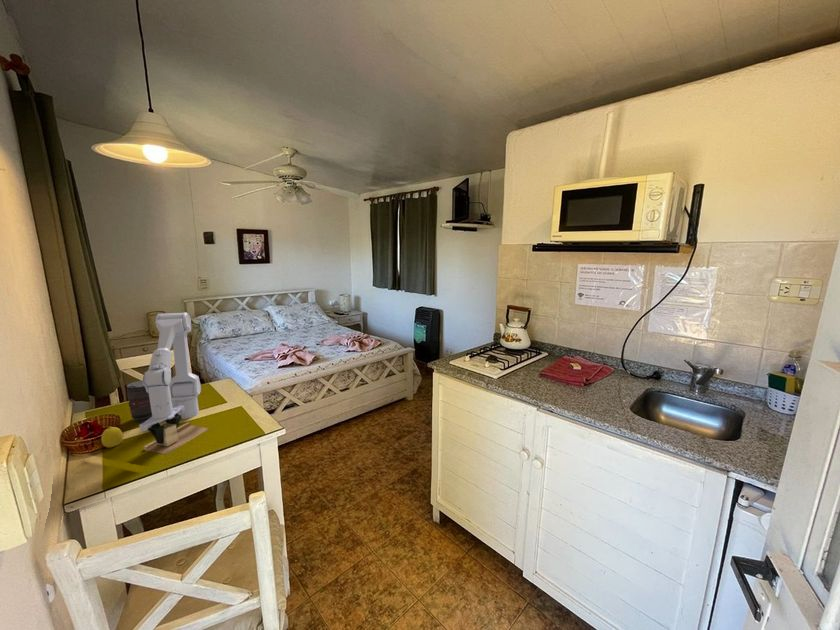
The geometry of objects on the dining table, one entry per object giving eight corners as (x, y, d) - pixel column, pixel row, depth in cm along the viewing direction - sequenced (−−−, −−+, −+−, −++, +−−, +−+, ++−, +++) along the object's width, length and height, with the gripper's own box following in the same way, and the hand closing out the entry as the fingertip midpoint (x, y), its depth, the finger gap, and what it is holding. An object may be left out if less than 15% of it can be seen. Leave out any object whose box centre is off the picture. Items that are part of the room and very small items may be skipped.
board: (144, 453, 117) (142, 446, 116) (188, 428, 133) (187, 422, 132) (167, 458, 114) (166, 450, 114) (210, 432, 130) (209, 425, 130)
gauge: (156, 444, 119) (153, 426, 118) (167, 438, 123) (164, 420, 121) (167, 446, 118) (164, 428, 116) (178, 440, 122) (175, 422, 120)
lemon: (107, 454, 116) (102, 432, 115) (101, 449, 119) (96, 428, 118) (127, 446, 121) (123, 425, 119) (121, 442, 124) (117, 421, 122)
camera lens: (146, 423, 137) (140, 388, 134) (126, 423, 137) (120, 387, 134) (162, 413, 145) (156, 380, 142) (143, 413, 145) (137, 379, 142)
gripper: (149, 414, 109) (155, 452, 112) (189, 395, 123) (194, 430, 126) (132, 411, 111) (138, 449, 114) (173, 393, 125) (178, 427, 128)
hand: (166, 439), depth 120 cm, fingers closed on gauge, 4 cm apart
